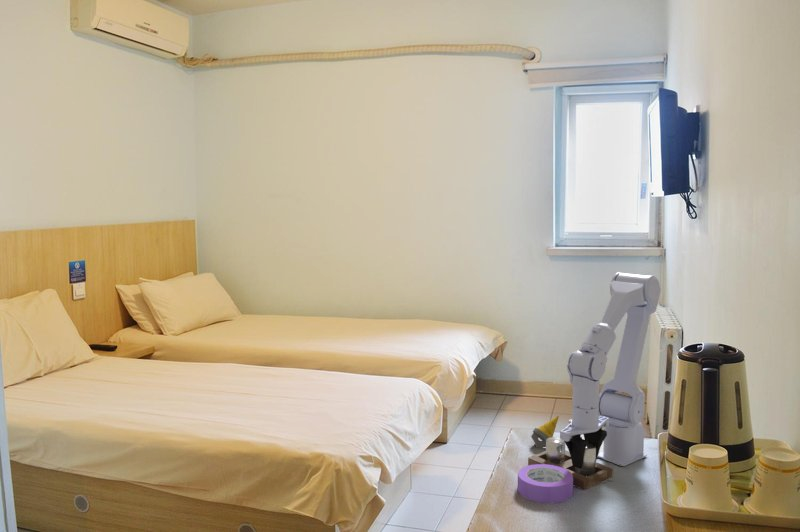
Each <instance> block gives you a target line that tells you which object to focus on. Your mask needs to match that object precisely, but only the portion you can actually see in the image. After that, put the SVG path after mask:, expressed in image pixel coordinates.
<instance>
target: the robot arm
mask: <svg viewBox="0 0 800 532" xmlns="http://www.w3.org/2000/svg"><path fill="white" fill-rule="evenodd" d="M609 294H610V299H609V300H608V303H607V305H606V308H605V310H604V312H603V315H602V317H601V318H600V319H601V320H600V322H599V323H595V324H593V325H592V326H591V328H590V329H589V331H588V333H587V334H586V337H585V338H584V339H583V342H582V344H581V345H580V347H579V349H577V350H576V351H574V352H572V353H571V354H570V355H569V357H568V360H567V361H568V362H567V364H566V370H567V372H568V374H569V382H570V383H571V384H572V389H571V391H572V394H571V398H572V399H571V401H572V402H571V403H572V405H571V409H572V410H571V418H570V419H569V420H568V424H567V426H566V427H564V428H563V429H561V430H560V431H559V438H560V439H561V440H564V442H565V446H566V447H567V451H569V453H570V456H571V460H572V464H573V466H574V467H577V468H579V469H580V468H582V466H583V458H584V451H585V448H586V445H587V443H590V444H593V445H595V446H596V461H597V460H598V458H599V459H602V460H604V461H607V462H610V463H612V464H615V465H618V466H620V467H627V466H628V465H631V464H632V463H635V462H637V461H640V460H642V459H643V458H644V459H645V458H646V457H647V453H644V452H645V451H644V450H645V449H644V448H645V447H644V445H645V444H644V443H645V430H644V429H645V428H644V426H643V423H642V422H641V421H642V420H643V418H644V416H645V411H646V408H645V407H646V406H645V403H646V394H645V393H644V391H643V390H642V388H640V386H639V385H638V384H637V379H638V375H639V370H640V365H641V361H642V356H643V351H644V346H645V343H646V337H647V333H648V330H649V324H650V323H649V322H650V319H651V315H652V314H654V313H656V312H657V307H658V305H659V299H660V294H661V285H660V281H659V279H658V277H657V276H656V275H653V274H651V275H645V274H636V273H635V274H634V273H626V272H621V271H617V272H616V273H615V274H614V275H613V276H612V277H611V281H610V283H609ZM626 314H627V315H626ZM625 315H626V316H627V317H626V321H625V324H624V330H623V334H622V339H621V343H620V344H621V345H620V349H619V354H618V358H617V361H616V367H615V371H614V376H613V378H612V379H610V380H609V381H606V382H605V383H604V384H603V385H602V387H601V390H600V380H601V378H602V377H603V376H604V375H605V371H606V365H607V362H608V357H607V356H608V354H609V352H610V350H611V349H612V346H613V345H614V343H615V341H616V339H617V335H616V333H615V330H616V328H617V327H618V326H619V324H620V322H621V321H622V320H623V319H624V317H625ZM618 392H619V393H618ZM621 393H623V394H621ZM626 394H627V395H626ZM581 435H583V436H581ZM602 444H603V450H602V451H600V449H601V447H602Z"/></svg>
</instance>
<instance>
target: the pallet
mask: <svg viewBox="0 0 800 532" xmlns="http://www.w3.org/2000/svg"><path fill="white" fill-rule="evenodd" d="M535 464H547V465H554V466H558V467H561V468H564V469H566V470H568V471H569V472H571V474H572V475H573V487H576V488H578V489H580V490H583V491H584V490H587V489H589V488H592V487H594V486H596V485H599V484H600V483H603V482H605V481H607V480H609V479H612V478H613V477H614V468H612V467H609V466H607V465H604V464H602V463H599V462H597V461H596V462H595V474H592V475H590V476H588V477H586V476H583V475H581V474H578V473H576V472H575V467H574V466H573V464H572V460H571V456H570V453H569V450H566V449H565V462H562V463H560V464H554V463H552V462H549V461H547V460H546V450H545V451H542V452H540V453H537V454H535V455H532V456H529V457H528V459H527V466H529V465H535Z"/></svg>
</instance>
